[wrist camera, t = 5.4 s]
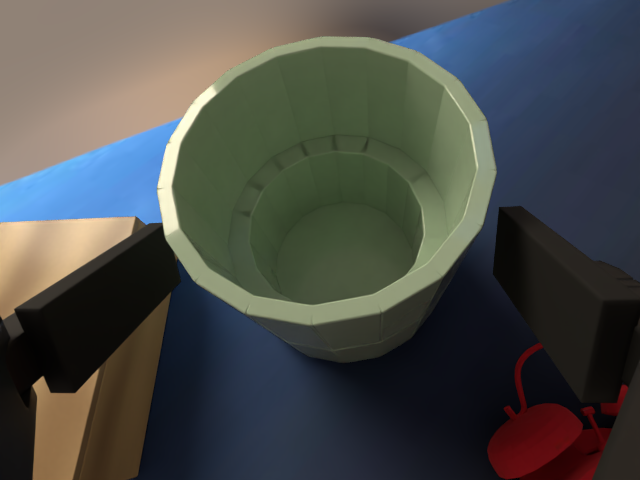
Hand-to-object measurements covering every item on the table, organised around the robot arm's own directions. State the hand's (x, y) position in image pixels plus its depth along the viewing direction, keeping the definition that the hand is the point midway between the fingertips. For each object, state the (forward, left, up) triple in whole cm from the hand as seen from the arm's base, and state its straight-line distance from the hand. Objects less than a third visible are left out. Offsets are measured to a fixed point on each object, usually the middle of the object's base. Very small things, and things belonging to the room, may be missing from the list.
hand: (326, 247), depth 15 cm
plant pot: (0, -2, -8) cm, 8 cm away
